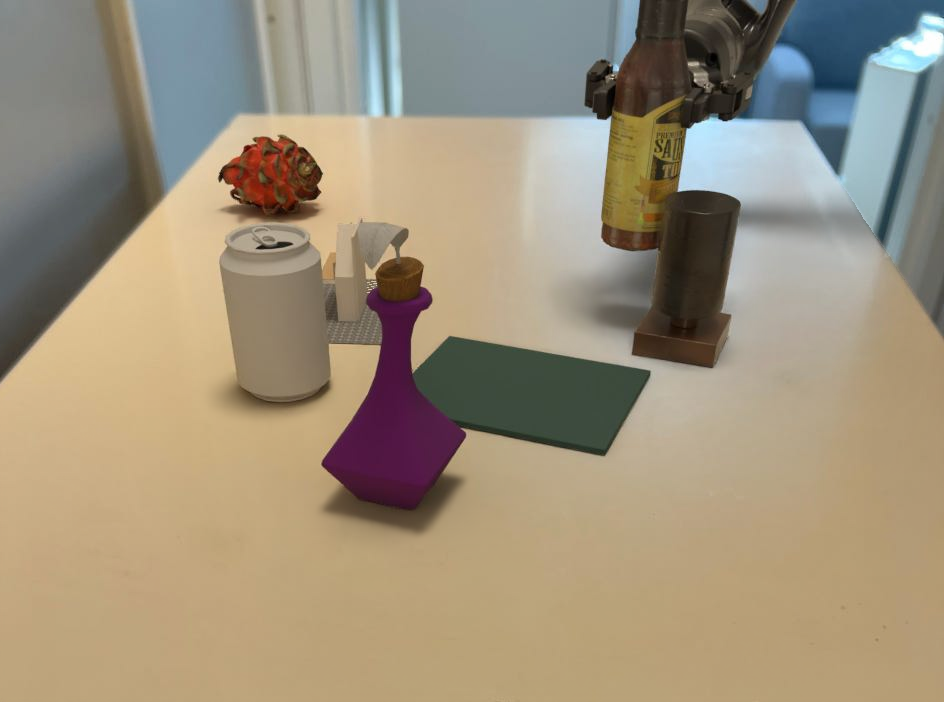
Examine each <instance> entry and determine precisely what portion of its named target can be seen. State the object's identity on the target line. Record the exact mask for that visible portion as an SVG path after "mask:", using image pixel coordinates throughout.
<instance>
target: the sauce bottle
mask: <svg viewBox="0 0 944 702" xmlns="http://www.w3.org/2000/svg"><path fill="white" fill-rule="evenodd" d="M687 8H688V0H639V4H638V13H637V21H636V22H637V23H636V28H635V31H634V33H635V35H634V36H635V41H634V42H633V44H632V46H631V48H630V49H629V51H628V52H627V53H626V54H625V57H624V58H623V61H622V62H621V63H620V65H619V67H618V70H617V71H618V74H617V79H616V88H615V99H614V105H613V107H612V115H611V116H610V126H609V136H608V142H607V143H608V144H607V155H606V166H605V173H604V181H603V192H602V201H601V202H602V203H601V214H600V219H601V221H602V224H601V233H600V238H601V239H602V242H603V243H605V244H606V245H608V246H609V247H610V248H613V249H618V250H623V251H628V252H645V251H646V252H647V251H653V250H658V247H659V240H660V232H661V224H662V217H663V209H664V202H665V198H666V197H667V196H668V195H669V194H672V193H675V192H679V185H680V178H681V171H682V166H683V159H684V158H683V157H684V153H685V145H686V139H687V130H688V129H687V128H681V119H682V112H683V104H684V100H685V97H686V96H687V95H688V94H689V93H690V92H691V91H692V87H691V81H690V75H689V68H688V62H687V56H686V49H685V43H684V37H685V23H686V15H687Z"/></svg>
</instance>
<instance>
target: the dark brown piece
mask: <svg viewBox="0 0 944 702" xmlns="http://www.w3.org/2000/svg"><path fill="white" fill-rule="evenodd" d="M741 208H742V203H741V201H740V200H739V199H738V198H737V197H734V196H733V195H730V194H728V193H727V194H726V193H723V192H720V191H713V190H702V189H689V190H688V189H687V190H678V192H675V193H672V194H669V195H668V196H667V197H666V198H665V202H664V209H663V217H662V224H661V232H660V240H659V247H658V248H657V255H656V261H655V262H656V263H655V270H654V279H653V285H652V292H651V293H652V294H651V299H650V300H651V301H650V303H651V306H650V307H649V309H648V310H647V312H646V313H645V315H644V316H643V318H642V320H641V322H640V323H639V324H638V325H637V327H636V329H635V330H634V332H633V340H632V348H631V354H632V355H636V356H643V357H648V358H654V359H660V360H666V361H671V362H672V361H673V362H678V363H684V364H690V365H697V366H702V367H708V368H713V367H715V363H716V361H717V360H718V357H719V355H720V353H721V350H722V349H723V346H724V344H725V342H726V340H727V338H728V336H729V332H730V331H729V330H730V326H731V320H732V313H725V312H722V311H723V308H724V304H725V303H724V302H725V296H726V291H727V285H728V280H729V274H730V269H731V264H732V258H733V252H734V247H735V242H736V235H737V230H738V226H739V225H738V224H739V220H740V219H739V218H740V214H741Z"/></svg>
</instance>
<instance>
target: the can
mask: <svg viewBox="0 0 944 702" xmlns="http://www.w3.org/2000/svg"><path fill="white" fill-rule="evenodd" d="M310 240H311V233H310V232H309V231H308V230H307V229H306V227H305V228H304V227H302V226H300V225H298V224H293V223H288V222H277V221H276V222H274V221H273V222H259V223H258V222H257V223H252V224H246V225H243V226H239V227H236V228H235V229H233V230H231V231H230V232H229V233H227V234H226V235H225V238H224V244H225V245H226V247H225V248H224V250H223V251H222V253H221V254H220V256H219V260H218V263H219V270H220V277H221V283H222V289H223V296H224V302H225V310H226V314H227V315H226V316H227V321H228V322H227V323H228V328H229V334H230V341H231V347H232V354H233V360H234V366H235V373H236V381H237V382H238V384H239V385H240V387H241V388H243V389H244V390H246V391H248V392H250V394H251V395H253V396H254V397H256V398H258V399H260V400H263V401H267V402H274V403H287V402H288V403H290V402H296V401H300V400H304V399H306V398H309V397H312V396H314V395H315V394H316V393H318V392H319V391H320V390H321V389H322V387H323V386H324V385H326V383H328V381H329V380H330V378H331V377H332V372H331V371H332V368H331V357H330V347H329V346H330V345H329V343H328V334H327V322H326V311H325V300H324V289H323V277H322V269H323V267H322V257H321V256H322V255H321V252H320V251H319V249H317V248H316V247H315V245H314V244H313V243H311V241H310Z"/></svg>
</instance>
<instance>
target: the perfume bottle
mask: <svg viewBox="0 0 944 702" xmlns="http://www.w3.org/2000/svg"><path fill="white" fill-rule="evenodd" d="M409 233H410V230H409V228H407V227H404V226H401V225H397V224H393V223H389V222H381V221H380V222H377V221H363V222H362V223H359V226H358V238H359V243H360V249H361V254H362V257H363V259H364V260H365V265H366V266H367V267H368V268H369V269H370V271H373V270H374V269H375V268H376V267H377V265H378V264H379V262H380V260H381V259H382V257H383V255H384V254H385V253H386V251H387V250H388V247H389V246H390V245H391V246H392V247H393V248H394V250H395V257H393V258H390V259H388V260H386V261H384V262H382V263H381V264H380V265H379V267H377V268H376V269H377V270H376V271H375V272H374V275H375V279H376V281H377V286H378V287H377V288H374V289H372V290H371V291H370V293H369V294H368V295H367V298H366V303H367V305H368V307H369V308H370V309H371V310H373V311H375V312H377V314H378V317H379V319H380V322H381V324H382V342H381V344H380V349H379V354H378V360H377V365H376V369H375V373H374V374H375V375H374V377H373V379H372V382H371V384H370V387H369V390H368V392H367V394H366V395H365V397H364V399H363V400H362V402H361V404H360V405H359V407H358V409H357V410H356V412H355V413H354V414H353V416H352V419H351V420H350V421H349V423H347V425H346V427H345V428H344V429H343V431H342V432H341V433H340V435H339V437H338V438H337V439H336V440H335V442H334V443H333V445H332V446H331V448H330V449H329V450H328V451H327V453H326V454H325V456H324V457H323V459H322V460H321V464H320V465H321V467H322V468H323V469H324V470H325V471H327V472H328V473H329V474H330V475H331V476H332V477H333V478H334V479H335V480H337V481H338V482H339V484H341V485H342V486H343V487H344V488H345V489H346V490H348V491H349V492H350V493H351V494H352V495H353V496H354V497H355V498H357V499H359V500H362V501H366V502H370V503H374V502H375V503H374V504H380V505H383V504H384V506H388V507H392V506H394V507H393V508H397V507H398V508H397V509H401V508H402V510H405V509H407V510H406V511H414V510H416V508H417V507H418V506H419V505H420V504H421V502H422V501H423V500H424V498H425V497H426V496H427V494H428V493H429V492H430V490H431V489H432V488H433V486H434V485H435V484H436V482H438V480H439V479H440V477H441V476H442V474H443V472H444V471H445V469H447V466H448V465H449V464H450V462H451V461H452V459H453V458H454V456H455V454H456V453H457V451H459V449H460V447H461V446H462V444H463V442H464V441H465V439H466V438H467V432H466V431H465V430H464V429H463V428H462V427H461V426H458V425H456V424H455V423H454V422H453V421H452V420H450V419H449V418H448V417H447V416H446V415H444V414H443V413H442V412H441V411H440V410H438V409H437V408H436V407H435V406H434V405H433V404H432V403H431V402H430V401H429V400H428V399H427V398H426V397H425V396H424V395H423V394H422V393H421V392H420V391H419V390H418V389H417V386H416V384H415V381H414V379H413V375H412V373H413V366H412V365H413V364H412V338H413V333H414V328H415V324H416V322H417V320H418V318H419V316H420V314H421V312H423V311H426V310H428V309H429V308H430V306H431V305H432V304H433V294H432V292H430V291H429V290H428V288H426V287H425V286H421V285H422V280H423V274H424V268H425V265H424V263H423V262H422V261H421V260H420V259H418V258H415V257H411V256H401V253H400V250H401V247H402V246H403V245H404V243H405V242H406V241H407V240H408V238H409ZM413 509H414V510H413Z"/></svg>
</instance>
